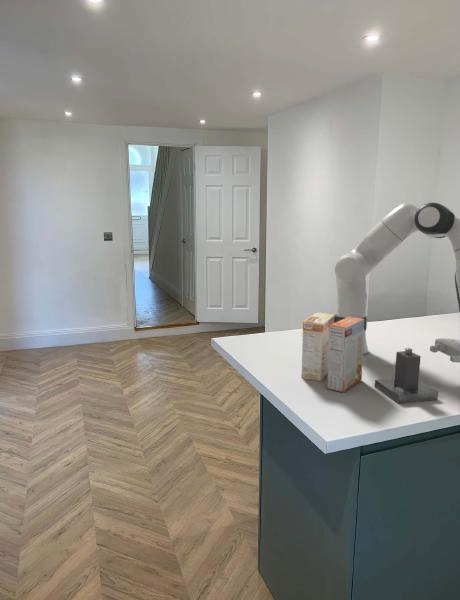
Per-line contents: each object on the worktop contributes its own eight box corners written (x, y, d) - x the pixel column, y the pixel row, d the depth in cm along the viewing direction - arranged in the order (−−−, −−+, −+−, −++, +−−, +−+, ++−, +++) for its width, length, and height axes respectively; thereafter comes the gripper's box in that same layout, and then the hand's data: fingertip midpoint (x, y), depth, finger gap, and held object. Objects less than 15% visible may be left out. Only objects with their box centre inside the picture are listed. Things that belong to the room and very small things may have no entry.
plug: (393, 388, 142) (396, 347, 140) (406, 387, 143) (409, 346, 141) (404, 395, 137) (407, 352, 134) (417, 394, 138) (420, 351, 135)
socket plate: (374, 387, 145) (375, 377, 144) (410, 383, 148) (411, 373, 147) (398, 403, 132) (399, 393, 132) (437, 399, 135) (438, 389, 135)
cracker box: (345, 376, 154) (348, 315, 150) (362, 380, 151) (366, 318, 147) (325, 388, 144) (328, 323, 140) (343, 393, 140) (346, 327, 136)
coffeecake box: (313, 364, 166) (315, 312, 162) (333, 367, 163) (335, 314, 159) (300, 378, 153) (302, 321, 149) (321, 381, 150) (323, 323, 146)
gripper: (457, 333, 154) (421, 334, 151) (506, 352, 135) (465, 354, 132) (455, 350, 156) (419, 353, 153) (503, 372, 136) (462, 375, 133)
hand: (441, 353), depth 142 cm, fingers open, 8 cm apart
